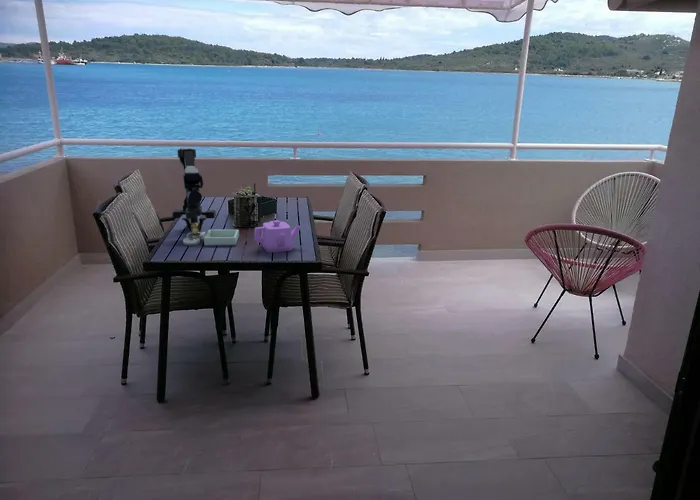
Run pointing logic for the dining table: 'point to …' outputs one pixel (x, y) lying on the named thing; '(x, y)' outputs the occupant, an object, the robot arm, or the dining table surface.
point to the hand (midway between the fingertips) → (195, 231)
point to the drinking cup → (259, 199)
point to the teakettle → (276, 236)
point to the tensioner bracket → (193, 239)
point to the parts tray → (221, 237)
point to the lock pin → (195, 228)
